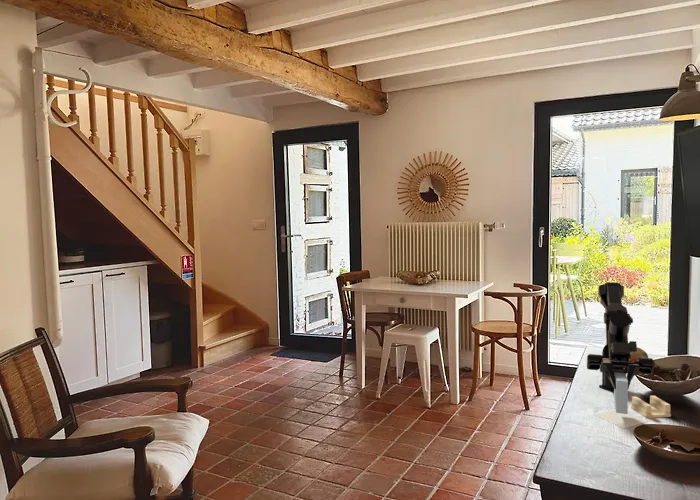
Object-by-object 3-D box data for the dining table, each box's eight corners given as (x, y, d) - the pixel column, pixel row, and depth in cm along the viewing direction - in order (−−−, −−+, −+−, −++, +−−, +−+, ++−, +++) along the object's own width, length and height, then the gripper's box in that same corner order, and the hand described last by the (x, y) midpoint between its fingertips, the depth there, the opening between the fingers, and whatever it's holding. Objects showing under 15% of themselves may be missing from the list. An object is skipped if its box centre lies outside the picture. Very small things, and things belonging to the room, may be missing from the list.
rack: (630, 408, 174) (631, 396, 173) (655, 407, 174) (655, 395, 174) (645, 418, 166) (645, 406, 165) (670, 417, 166) (671, 404, 166)
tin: (606, 367, 215) (606, 347, 214) (605, 365, 218) (605, 345, 217) (648, 370, 211) (648, 348, 210) (646, 367, 214) (646, 346, 213)
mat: (593, 415, 169) (593, 414, 169) (616, 410, 173) (616, 409, 173) (624, 429, 159) (624, 428, 159) (647, 422, 163) (647, 421, 163)
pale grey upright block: (614, 403, 170) (614, 372, 169) (624, 404, 169) (625, 373, 168) (616, 412, 162) (616, 380, 162) (627, 414, 161) (628, 381, 160)
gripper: (587, 329, 170) (588, 374, 161) (654, 332, 164) (659, 379, 154) (586, 346, 179) (587, 390, 169) (650, 350, 172) (655, 396, 163)
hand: (621, 389), depth 164 cm, fingers closed on pale grey upright block, 3 cm apart
